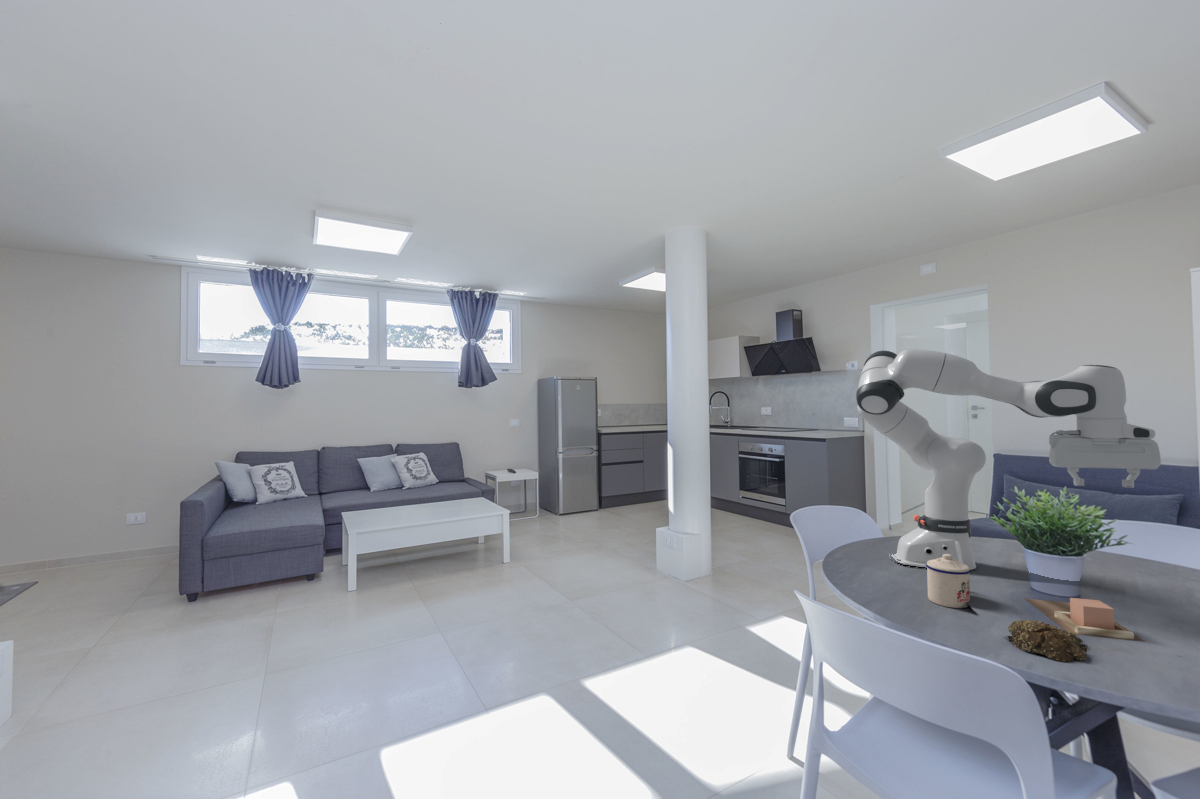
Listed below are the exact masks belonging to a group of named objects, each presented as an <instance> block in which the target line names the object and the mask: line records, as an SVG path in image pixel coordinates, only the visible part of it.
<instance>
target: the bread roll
mask: <svg viewBox="0 0 1200 799" xmlns="http://www.w3.org/2000/svg"><path fill="white" fill-rule="evenodd" d="M1007 630H1008V632H1009V633H1010V634H1011V635H1006V637H1007V639H1008V641H1009V642H1011V643H1012V644H1013V645H1014V647H1016V648H1017V649H1019V650H1021V651H1023V652H1027V653H1033V654H1039V655H1042V656H1045V657H1047V658H1049V659H1050V660H1052V661H1056V662H1060V663H1072V662H1073V661H1076V662H1077V661H1078V662H1079V661H1085V660H1086V659H1088V656H1087V653H1086V652H1087V651H1088V649H1087V646H1086V644H1084V643H1082V642H1083V641H1082V639H1081V638H1080V636H1078V635H1077V634H1074V633H1072V632H1069V631H1066V630H1065V629H1063V628H1062V627H1057V626H1055V625H1052V624H1049V623H1046V622H1044V621H1039V620H1031V619H1027V620H1026V619H1025V620H1024V619H1020V620H1014V621H1012V622H1011V623H1010V624H1009V625H1008V626H1007Z"/></svg>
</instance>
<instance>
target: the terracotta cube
mask: <svg viewBox="0 0 1200 799" xmlns="http://www.w3.org/2000/svg"><path fill="white" fill-rule="evenodd" d="M1069 603H1070V618H1071V619H1072V620H1073V621H1074V622H1076V623H1077V624H1079V625H1080V626H1085V627H1095V628H1105V629H1114V630H1115V627H1114V621H1115V608H1113V607H1111V606H1110V605H1108V604H1106V603H1104V602H1103V601H1101V600H1099V599H1089V598H1078V597H1069Z"/></svg>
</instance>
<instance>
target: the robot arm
mask: <svg viewBox="0 0 1200 799" xmlns="http://www.w3.org/2000/svg"><path fill="white" fill-rule="evenodd" d="M911 388H914V389H920V390H923V391H928V392H932V393H935V394H936V393H937V394H942V395H946V396H947V395H950V396H959V397H960V396H961V397H963V396H964V397H965V396H977V397H981V398H986V399H990V400H994V401H998V402H1003V403H1006V404H1010V405H1012V406H1014V407H1016V408H1017V409H1019V410H1020V411H1022V412H1023V413H1025V414H1027V415H1028V416H1031V417H1035V418H1039V419H1040V418H1042V419H1043V418H1063V417H1069V416H1071V415H1075V416H1076V429H1075V430H1074V429H1070V430H1061V429H1059V430H1056V431H1054V432H1052V433H1051V434H1050V435H1049V437H1048V441H1049V442H1048V443H1049V445H1050V446H1049V447H1050V449H1049V456H1048V462H1049V464H1050V465H1051V466H1052V467H1056V468H1066V471H1067V473H1068V474H1069V475H1070V477H1071V478H1072V479H1073V486H1075V487H1085V485H1086V484H1085V479H1084V478H1081V477H1080V475H1078V473H1079V472H1080V469H1081V468H1082V469H1086V468H1087V469H1119V470H1120V469H1122V470H1123V469H1124V470H1126V472H1127V473H1128V476H1126V478H1125V479H1124V478H1123V479H1121V486H1122V488H1132V489H1134V488H1135V481H1136V480H1137V478H1138V477H1139V475H1141V470H1157V469H1159V467H1160V466H1161V461H1162V460H1161V454H1160V453H1161V452H1160V448H1159V445H1158V443H1157V441H1156V440H1154V439H1155V437H1156V431H1155V430H1154V429H1151V428H1147V427H1143V426H1139V425H1134V424H1131V423H1128V417H1127V414H1126V412H1125V405H1126V403H1127V391H1126V384H1125V379H1124V374H1123V373H1122V371H1121V370H1120V369H1118V368H1117V367H1113V366H1110V365H1102V364H1083V365H1080V366H1079V367H1077V368H1076V369H1074V370H1072V371H1070V372H1068V373H1065V374H1063V375H1061V376H1058V377H1055V378H1052V379H1048V380H1034V381H1027V382H1026V381H1025V382H1024V381H1016V380H1012V379H1007V378H1003V377H999V376H995V375H991V374H988V373H985V372H983V371H982V370H981V369H980V368H978V367H977V365H976V364H975V363H974V362H973V361H972V360H969V359H966V358H964V357H961V356H959V355H955V354H951V353H947V352H946V353H945V352H943V351H942V352H940V351H936V350H928V349H918V348H917V349H915V348H914V349H913V348H910V349H909V348H907V349H904V350H901V351H900V352H899V353H898V354H897V353H895V352H893V351H889V350H879V351H875V352H873V353H871V354H870V355H869V356H868V358H867V359H866V360H865V362H864V364H863V367H862V370H861V372H860V375H859V379H858V386H857V390H856V392H855V393H856V394H855V395H856V403H857V405H856V406H857V407H856V409H857V413H858V415H860V416H861V417H862V418H863V419H864V420H865V421H866V422H867V423H868V424H869V425H870V426H871V427H873V428H874V430H876V431H878V433H880V434H882V435H883V436H885V437H886V438H887V439H889V440H890V441H892V442H894V443H895V444H896V445H898V446H899V447H900V448H901V449H903V451H905V453H906V454H908V456H909V458H910V460H911V461H912V462H913V463H914V464H916V465H917V466H919V467H921V468H924V469H925V470H928V471H934V473H933V477H932V480H931V483H930V485H929V486H928V487H927V488H926V489H925V490H924V514H923V515H922V516H920V515H918V514H914V515H913V518H912V519H913V520H914V521H915V522H917V527H916V528H914V529H912V530H911V531H908V532H907V533H906V534H904V535H902V536H901V537H900V538H899V540H898V543H897V547H896V548H897V549H896V551H897V553H896V554H894V555H893V554H892V555H891V556H892V557H893V558H894V559H895V560H896V561H898V560H901V561H898V562H900V563H903V564H908V565H915V566H921V567H927V566H926V563H927V562H928V561H929V560H935V559H937V558H941V557H943V554H950V555H952V559H955V560H957V561H958V562H960V563H962V564H965V565H967V566H968V567H969V569H970V571H972V570H974V569H976V568H977V564H976V562H975V560H974V559H975V558H974V556H973V551H972V546H971V534H972V526H971V520H970V519H969V493H970V488H971V485H972V483H973V481H974V478H975V476H976V475H977V474H978V473H979V472H980V471H981V470H982V469H983V468H984V466H986V465H985V464H986V461H987V460H986V459H987V457H986V456H987V455H986V452H985V450H984V449H983V447H982V446H980V444H979V443H976V442H973V441H971V440H969V439H966V438H963V437H962V438H961V437H952V436H951V437H949V436H945V435H941V434H939V433H937V432H936V431H934V430H933V429H932V427H931V426H930V424H929V421H928V420H927V419H926V418H925V417H924V416H922V415H921V414H919V413H918V412H917V411H915V410H914V409H913V408H910V407H909V406H908V405H906V403H903V402H902V401H901V400H903V398H904V396H905V392H904V391H905V390H906V389H911ZM897 559H898V560H897Z"/></svg>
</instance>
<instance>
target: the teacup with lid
mask: <svg viewBox="0 0 1200 799" xmlns="http://www.w3.org/2000/svg"><path fill="white" fill-rule="evenodd" d="M926 566H927V569H926V570H927V571H926V572H927V574H926V580H927V581H926V582H927V600H929V601H930V602H932V603H934V604H936V605H939V606H942V607H946V608H953V609H964V608H965V609H966V608H968V607H970V605H969V604H968V602H970V601H971V592H970V590H971V589H970V588H971V587H970V585H971V584H970V573H971V570H970V569H969V567H968V566H967V565H965V564H962V563H960V562H958V561H957V560H955V559H952V555H950V554H943V557H941V558H937V559H935V560H929V561H928V562H927V563H926Z"/></svg>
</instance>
